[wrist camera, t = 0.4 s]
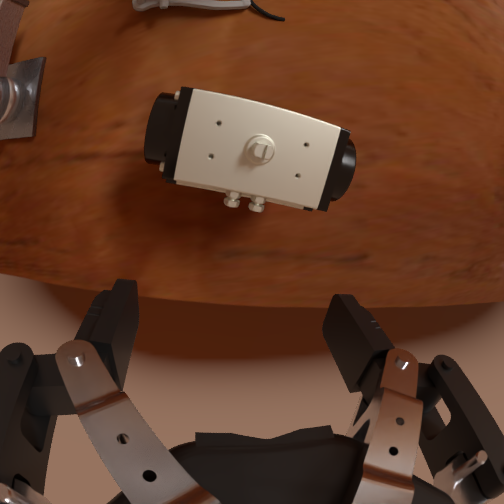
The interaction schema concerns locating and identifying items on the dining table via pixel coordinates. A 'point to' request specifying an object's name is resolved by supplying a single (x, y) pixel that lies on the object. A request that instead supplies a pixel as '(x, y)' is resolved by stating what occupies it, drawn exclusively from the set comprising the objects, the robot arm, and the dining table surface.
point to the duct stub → (22, 99)
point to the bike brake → (200, 5)
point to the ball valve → (248, 150)
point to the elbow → (8, 43)
